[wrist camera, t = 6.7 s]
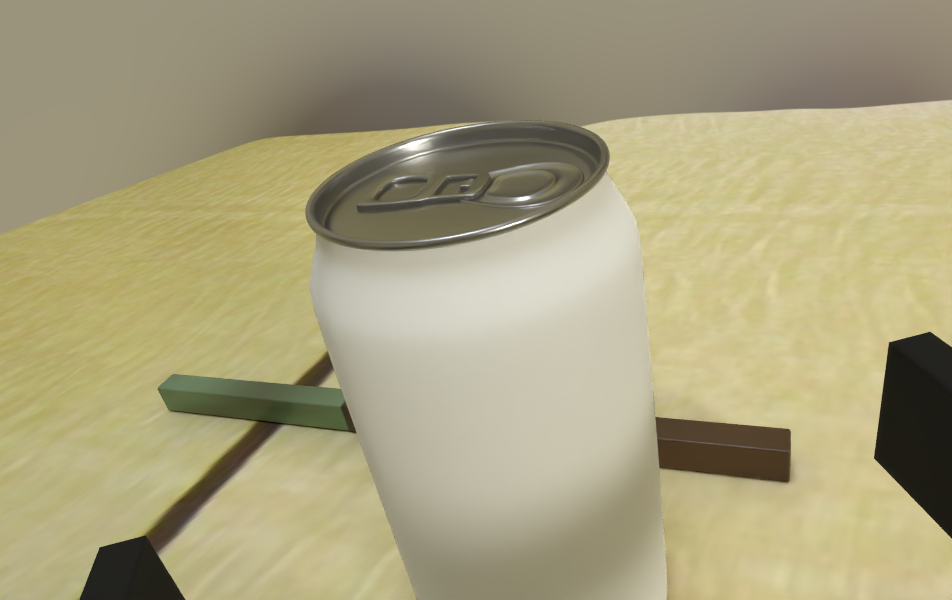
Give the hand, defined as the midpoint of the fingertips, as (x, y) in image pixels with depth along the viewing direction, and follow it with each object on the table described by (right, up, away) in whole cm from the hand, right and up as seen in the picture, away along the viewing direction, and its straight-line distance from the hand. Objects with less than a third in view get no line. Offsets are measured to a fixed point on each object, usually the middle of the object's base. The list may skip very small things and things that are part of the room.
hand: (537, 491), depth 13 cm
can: (+1, -5, +7) cm, 8 cm away
